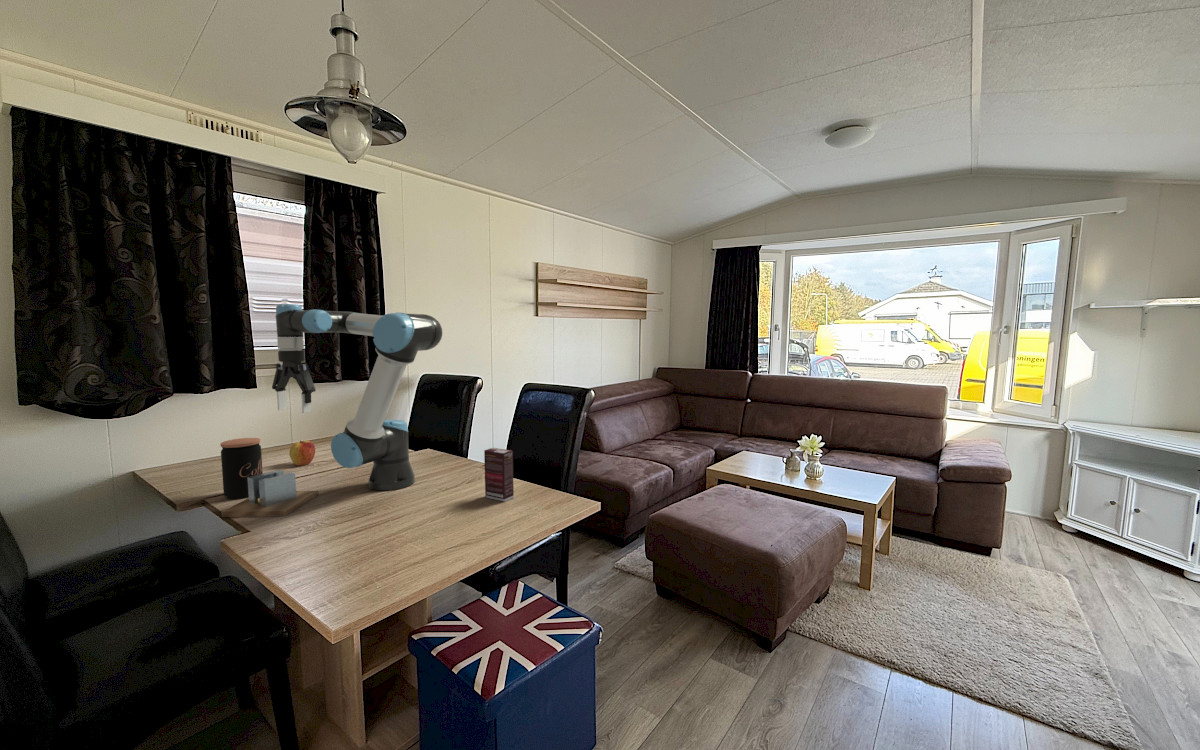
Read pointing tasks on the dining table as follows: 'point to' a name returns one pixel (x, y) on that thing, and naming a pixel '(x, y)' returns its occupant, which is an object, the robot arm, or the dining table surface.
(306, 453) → the apple
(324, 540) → the dining table surface
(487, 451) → the supplement box
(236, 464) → the coffee jar
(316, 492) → the post base
